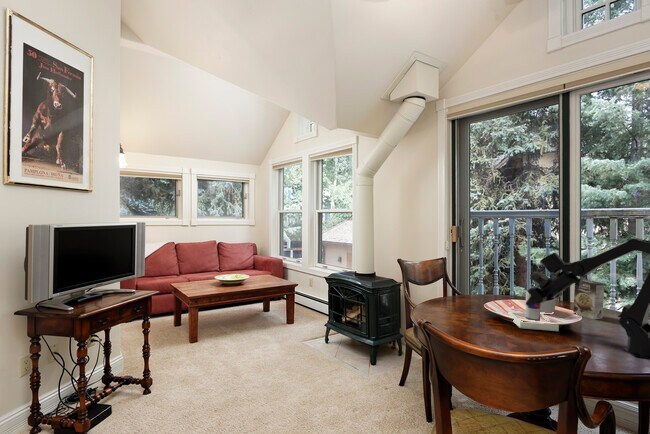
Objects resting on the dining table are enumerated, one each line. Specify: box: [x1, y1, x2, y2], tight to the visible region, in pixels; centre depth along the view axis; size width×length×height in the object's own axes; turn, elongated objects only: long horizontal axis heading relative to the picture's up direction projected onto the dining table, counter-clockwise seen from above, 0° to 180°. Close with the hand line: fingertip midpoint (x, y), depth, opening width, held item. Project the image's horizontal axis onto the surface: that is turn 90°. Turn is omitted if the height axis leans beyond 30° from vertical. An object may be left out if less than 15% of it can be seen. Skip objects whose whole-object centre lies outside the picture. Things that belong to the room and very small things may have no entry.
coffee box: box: [572, 278, 605, 320], centre depth 152 cm, size 9×6×16 cm
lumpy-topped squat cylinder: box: [540, 297, 556, 313], centre depth 159 cm, size 10×13×9 cm
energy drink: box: [524, 289, 541, 321], centre depth 140 cm, size 5×5×12 cm
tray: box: [507, 311, 560, 332], centre depth 141 cm, size 14×14×2 cm
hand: (529, 303), depth 141 cm, fingers closed on energy drink, 5 cm apart
